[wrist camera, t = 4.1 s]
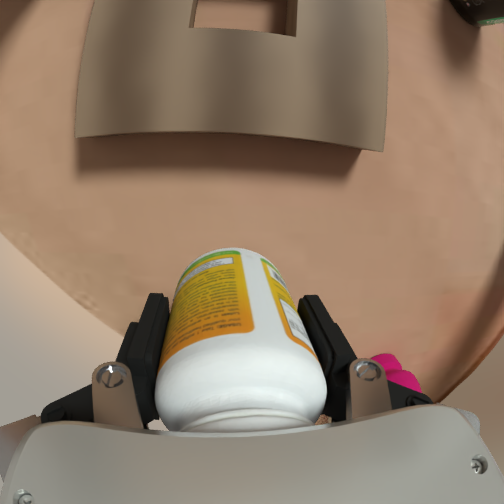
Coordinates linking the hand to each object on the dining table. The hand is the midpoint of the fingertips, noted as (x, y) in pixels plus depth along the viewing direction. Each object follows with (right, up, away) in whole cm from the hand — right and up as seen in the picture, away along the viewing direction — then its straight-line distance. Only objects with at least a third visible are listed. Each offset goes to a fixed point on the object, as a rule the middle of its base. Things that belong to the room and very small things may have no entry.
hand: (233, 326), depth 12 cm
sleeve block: (0, +20, +3) cm, 21 cm away
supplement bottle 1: (0, +1, +3) cm, 3 cm away
